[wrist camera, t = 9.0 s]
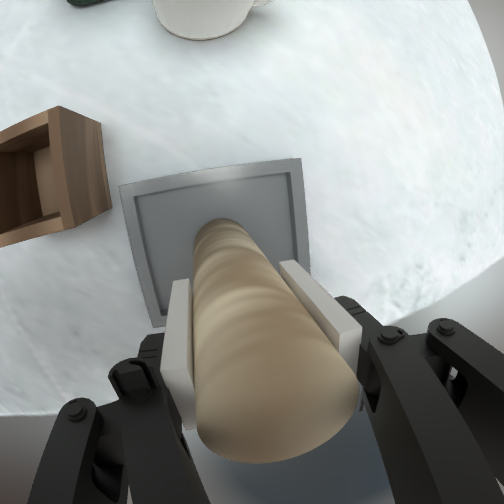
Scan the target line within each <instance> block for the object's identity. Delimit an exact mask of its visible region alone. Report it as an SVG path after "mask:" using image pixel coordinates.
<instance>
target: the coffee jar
mask: <svg viewBox="0 0 504 504" xmlns="http://www.w3.org/2000/svg"><path fill="white" fill-rule="evenodd" d="M99 1H102V0H67V2H68V3H70V4H72V5H85V4H91V3H95V2H99Z"/></svg>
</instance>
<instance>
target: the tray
mask: <svg viewBox="0 0 504 504" xmlns="http://www.w3.org/2000/svg"><path fill="white" fill-rule="evenodd" d="M119 190H120V196H121V202H122V207H123V212H124V217H125V222H126V227H127V232H128V236H129V241H130V245H131V249H132V254H133V258H134V262H135V266H136V270H137V274H138V277H139V281H140V285H141V289H142V292H143V296H144V299H145V303H146V306H147V309H148V313H149V316H150V319H151V322H152V325H153V328H157V327H163V326H166V322H167V315H168V309H169V303H170V297H171V291H172V285H173V281H176V280H182V279H187V278H189V281H190V286H191V290H192V295H193V249H194V240H195V236H196V234H197V232H198V231H199V230H200V228H201V227H202V226H203V225H205V224H206V223H208V222H209V221H212V220H215V219H221V218H223V219H230V220H233V221H235V222H237V223H239V224H240V225H241V226H242V227H243V228H244V229H245V230H246V232H247V233H248V234H249V236H250V237H251V238H252V240H253V241H254V242H255V243H256V245H257V246H258V247H259V249H260V250H261V251H262V253H263V254H264V255H265V256H266V258H267V259H268V260H269V262H270V263H271V264H272V266H273V267H274V268H275V270H276V271H277V272H278V273H279V275H280V268H279V262H282V261H287V260H293V259H294V260H295V261H296V262H297V263H298V264H299V265H300V266H301V267H302V268H303V269H304V270H305V271H306V272H307V273H308V274H310V257H309V241H308V227H307V215H306V203H305V192H304V181H303V171H302V162H301V158H295V159H284V160H274V161H265V162H256V163H248V164H240V165H232V166H225V167H218V168H212V169H205V170H199V171H193V172H187V173H181V174H176V175H170V176H165V177H160V178H155V179H150V180H145V181H140V182H135V183H131V184H126V185H122V186H119Z"/></svg>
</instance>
